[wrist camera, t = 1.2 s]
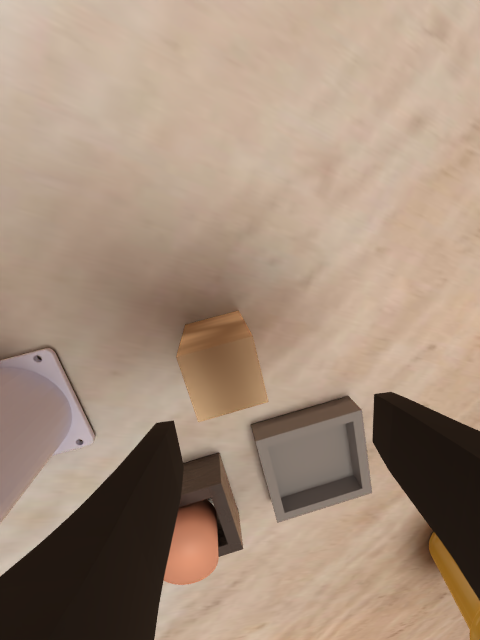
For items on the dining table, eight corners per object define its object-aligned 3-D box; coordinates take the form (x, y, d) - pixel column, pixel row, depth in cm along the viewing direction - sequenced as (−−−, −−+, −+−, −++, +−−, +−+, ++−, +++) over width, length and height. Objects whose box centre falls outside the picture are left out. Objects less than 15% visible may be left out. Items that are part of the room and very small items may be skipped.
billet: (200, 372, 20) (198, 422, 14) (185, 324, 19) (176, 356, 13) (250, 359, 20) (268, 401, 14) (238, 310, 19) (252, 336, 13)
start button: (170, 546, 21) (165, 592, 18) (153, 506, 20) (144, 549, 17) (222, 529, 21) (225, 572, 19) (208, 489, 20) (208, 529, 17)
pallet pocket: (271, 501, 24) (277, 522, 22) (251, 424, 22) (255, 441, 20) (359, 473, 24) (372, 492, 23) (348, 396, 22) (361, 409, 20)
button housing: (164, 536, 23) (158, 576, 21) (137, 477, 22) (126, 511, 19) (238, 513, 24) (243, 548, 21) (219, 452, 22) (221, 483, 19)
